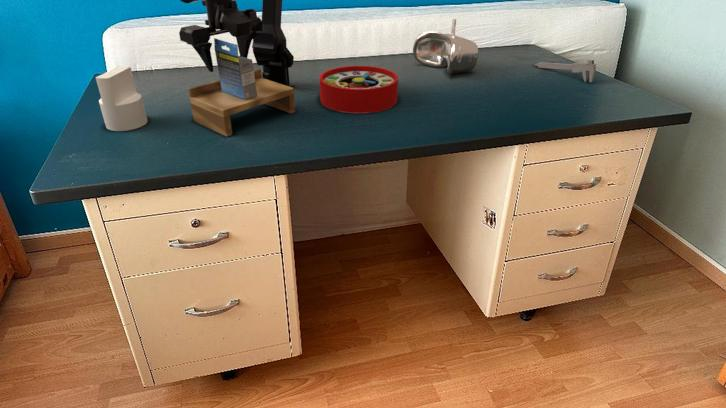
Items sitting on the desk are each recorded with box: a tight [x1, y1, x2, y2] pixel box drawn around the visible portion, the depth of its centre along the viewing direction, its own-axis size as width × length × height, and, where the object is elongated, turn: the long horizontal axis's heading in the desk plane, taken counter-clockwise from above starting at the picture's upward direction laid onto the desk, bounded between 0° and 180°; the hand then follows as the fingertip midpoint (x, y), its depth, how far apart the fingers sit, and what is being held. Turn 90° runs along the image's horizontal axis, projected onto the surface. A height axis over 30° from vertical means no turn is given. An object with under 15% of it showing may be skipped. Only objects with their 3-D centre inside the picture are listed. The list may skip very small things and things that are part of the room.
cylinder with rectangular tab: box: [95, 65, 149, 132], centre depth 113 cm, size 9×9×12 cm
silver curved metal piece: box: [412, 18, 479, 76], centre depth 150 cm, size 18×11×14 cm, turn 33°
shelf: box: [187, 68, 296, 137], centre depth 118 cm, size 20×13×8 cm, turn 138°
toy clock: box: [318, 65, 399, 114], centre depth 129 cm, size 20×6×20 cm
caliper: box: [534, 59, 597, 83], centre depth 147 cm, size 20×1×6 cm, turn 33°
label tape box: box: [213, 37, 257, 100], centre depth 113 cm, size 9×4×12 cm, turn 49°
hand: (228, 67), depth 117 cm, fingers open, 9 cm apart
